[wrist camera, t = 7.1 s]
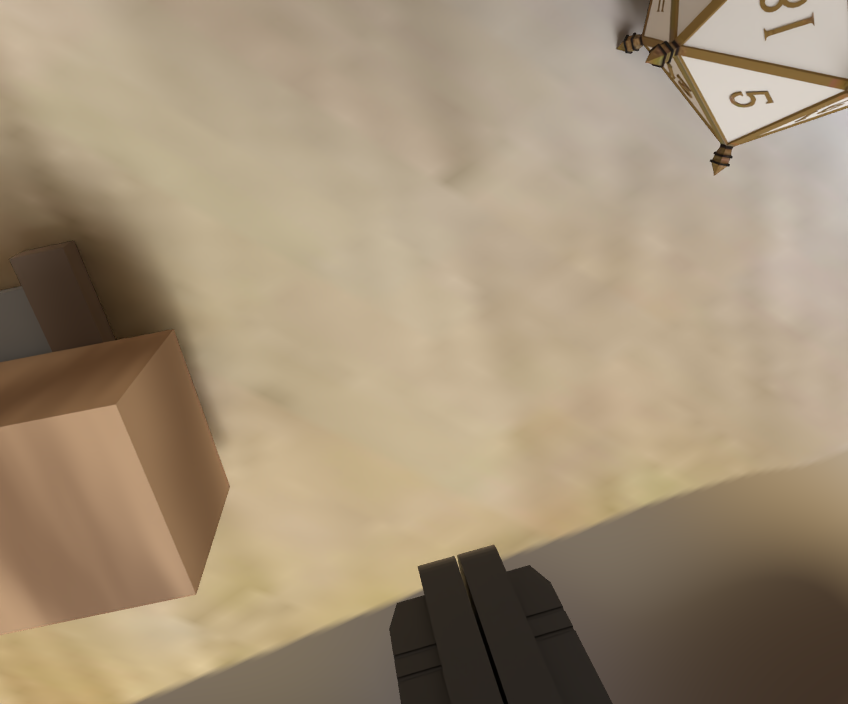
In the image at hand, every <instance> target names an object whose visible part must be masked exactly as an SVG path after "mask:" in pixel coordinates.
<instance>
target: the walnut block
mask: <svg viewBox="0 0 848 704" xmlns="http://www.w3.org/2000/svg"><path fill="white" fill-rule="evenodd" d="M229 488H230V485H229V483H228V480H227V477H226V474H225V471H224V469H223V466H222V463H221V460H220V457H219V455H218V452H217V449H216V446H215V444H214V441H213V438H212V435H211V432H210V430H209V427H208V424H207V421H206V418H205V416H204V413H203V410H202V407H201V404H200V402H199V399H198V396H197V393H196V390H195V388H194V385H193V382H192V379H191V376H190V374H189V371H188V368H187V365H186V363H185V360H184V357H183V354H182V351H181V349H180V346H179V343H178V340H177V337H176V335H175V332H174V329H172V330H166V331H161V332H156V333H151V334H145V335H140V336H135V337H130V338H125V339H119V340H114V341H109V342H104V343H99V344H93V345H88V346H83V347H78V348H72V349H67V350H62V351H57V352H52V353H46V354H41V355H36V356H31V357H25V358H20V359H15V360H10V361H5V362H0V635H3V634H8V633H13V632H17V631H22V630H27V629H32V628H37V627H42V626H46V625H51V624H56V623H61V622H66V621H71V620H75V619H80V618H85V617H90V616H95V615H99V614H104V613H109V612H114V611H119V610H124V609H128V608H133V607H138V606H143V605H148V604H153V603H157V602H162V601H167V600H172V599H177V598H182V597H186V596H191V595H196V593H197V590H198V587H199V584H200V580H201V577H202V574H203V571H204V568H205V564H206V561H207V558H208V555H209V552H210V548H211V545H212V542H213V539H214V536H215V533H216V529H217V526H218V523H219V520H220V517H221V513H222V510H223V507H224V504H225V501H226V497H227V494H228V491H229Z"/></svg>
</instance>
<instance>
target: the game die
mask: <svg viewBox="0 0 848 704" xmlns="http://www.w3.org/2000/svg"><path fill="white" fill-rule="evenodd" d="M643 45H644V46H645V47H646V49H647V50H648V51H649V56H648V58H647V60H646V62H645V63H650V64H652V65H653V66H657V67H661V68H662V69H663V70H664V72H665V73H666V74H667V76H668V77H669V78H670V79H671V81H672V82H673V83H674V85H675V86H676V87H677V88H678V90H679V91H680V92H681V93H682V95H683V96H684V97H685V99H686V100H687V101H688V102H689V104H690V105H691V106H692V108H693V109H694V110H695V111H696V113H697V114H698V115H699V116H700V118H701V119H702V120H703V122H704V123H705V124H706V125H707V127H708V128H709V129H710V130H711V132H712V133H713V134H714V136H715V137H716V138H717V139H718V141H719V142H720V143H721V145H720V148H719V149H718V150H717V152H714V154H715V155H714V157H713V159H712V160H710V162H712V167H713V171H714V176H715V175H716V174H717V173H719V172H720V171H721V170H723V169H724V168H725V167H727V166H729V165H730V164H728V163H729V160H730V158H732V157H733V156H731V151H732V148H733V147H734V146H737V145H740V144H743V143H746V142H749V141H752V140H755V139H758V138H761V137H763V136H766V135H769V134H772V133H775V132H778V131H781V130H784V129H787V128H790V127H793V126H796V125H799V124H802V123H805V122H808V121H811V120H814V119H817V118H820V117H822V116H825V115H828V114H831V113H834V112H837V111H840V110H843V109H846V108H848V0H650V3H649V7H648V12H647V16H646V20H645V24H644V29H643V33H642V34H641V35H640V34H636V33H633V35H632V36H629V35H626V37H625V39H624V41H623V42H622V43H621V44H620V45H619V47H618V48H617V49H618V50H622V51H625V52H626V53H629V54H631V53H632V51H639V48H641V47H642V46H643Z"/></svg>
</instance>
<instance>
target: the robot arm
mask: <svg viewBox="0 0 848 704" xmlns="http://www.w3.org/2000/svg"><path fill="white" fill-rule="evenodd" d="M457 558H458V563H459V567H458V564H457V561H456V559H455V556H452V557H449V558H445V559H442V560H438V561H435V562H431V563H427V564H424V565H420V566H418V570H419V574H420V578H421V582H422V586H423V590H424V596H420V597H417V598H413V599H410V600H406V601H403V602H399V603H397V605H396V608H395V612H394V615H393V619H392V622H391V625H390V629H389V630H390V636H391V642H392V649H393V655H394V659H395V667H396V673H397V679H398V686H399V693H400V699H401V704H612V702H611V700H610V698H609V696H608V694H607V692H606V690H605V688H604V686H603V684H602V682H601V680H600V678H599V676H598V674H597V672H596V670H595V668H594V667H593V665H592V663H591V661H590V659H589V657H588V655H587V653H586V651H585V649H584V647H583V645H582V643H581V641H580V639H579V637H578V635H577V633H576V631H574V629H573V626H572V623H571V622H570V620H569V618H568V616H567V614H566V612H565V611H564V610H563V606H562V604H561V602H560V600H559V599H558V596H557V594H556V592H555V590H554V588H553V586H552V585H551V582H549V581H548V580H547V579H545V578H544V577H543V576H542V575H541V574H540V573H538V572H537V571H536V570H535V569H533V568H532V567H531V566H530V565H529V566H525V567H522V568H518V569H514V570H511V571H507V572H506V570H505V567H504V565H503V563H502V560H501V558H500V556H499V553H498V551H497V549H496V547H495V545H491V546H487V547H484V548H480V549H477V550H473V551H470V552H466V553H462V554H459V555H457ZM459 568H460V570H459Z"/></svg>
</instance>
